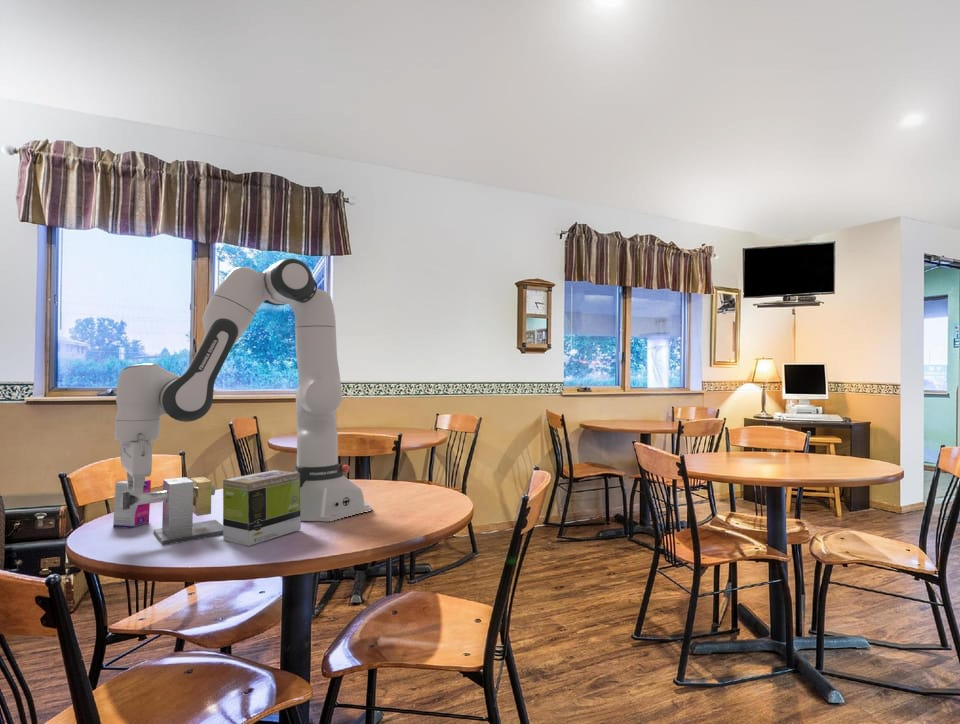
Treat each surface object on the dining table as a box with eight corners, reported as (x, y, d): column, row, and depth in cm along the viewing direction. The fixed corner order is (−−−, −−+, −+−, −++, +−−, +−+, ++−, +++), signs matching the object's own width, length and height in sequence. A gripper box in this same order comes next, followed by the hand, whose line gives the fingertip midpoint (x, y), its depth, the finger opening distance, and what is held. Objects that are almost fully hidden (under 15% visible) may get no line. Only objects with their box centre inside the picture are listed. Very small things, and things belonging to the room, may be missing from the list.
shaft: (211, 496, 133) (211, 480, 133) (215, 499, 130) (216, 483, 130) (121, 508, 121) (121, 491, 121) (123, 511, 118) (123, 493, 118)
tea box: (275, 525, 136) (276, 468, 136) (301, 531, 131) (302, 472, 131) (221, 540, 123) (222, 477, 123) (247, 547, 118) (249, 481, 118)
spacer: (203, 507, 134) (203, 476, 134) (210, 514, 128) (211, 481, 128) (189, 509, 132) (190, 478, 132) (197, 516, 126) (198, 482, 126)
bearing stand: (215, 523, 137) (216, 472, 138) (228, 533, 128) (229, 479, 129) (153, 533, 128) (154, 479, 129) (162, 545, 119) (163, 486, 120)
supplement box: (131, 528, 133) (133, 483, 133) (112, 527, 134) (113, 482, 134) (150, 522, 138) (151, 479, 139) (131, 521, 140) (132, 478, 140)
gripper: (161, 435, 116) (158, 497, 115) (146, 428, 131) (143, 483, 131) (127, 436, 112) (124, 501, 111) (116, 429, 127) (113, 486, 127)
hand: (134, 491), depth 121 cm, fingers open, 8 cm apart
